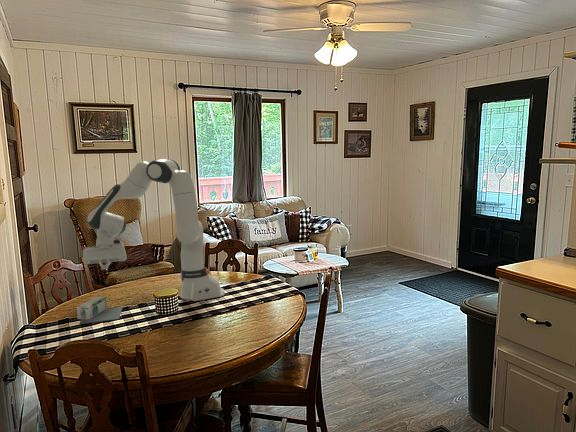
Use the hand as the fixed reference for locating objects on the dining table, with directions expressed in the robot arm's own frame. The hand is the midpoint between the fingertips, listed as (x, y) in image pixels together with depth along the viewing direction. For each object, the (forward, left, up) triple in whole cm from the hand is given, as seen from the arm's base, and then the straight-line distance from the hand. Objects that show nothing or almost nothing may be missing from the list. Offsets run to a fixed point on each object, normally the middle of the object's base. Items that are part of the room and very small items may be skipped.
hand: (104, 268), depth 210 cm
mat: (0, +20, -17) cm, 26 cm away
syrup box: (+1, +10, -14) cm, 17 cm away
